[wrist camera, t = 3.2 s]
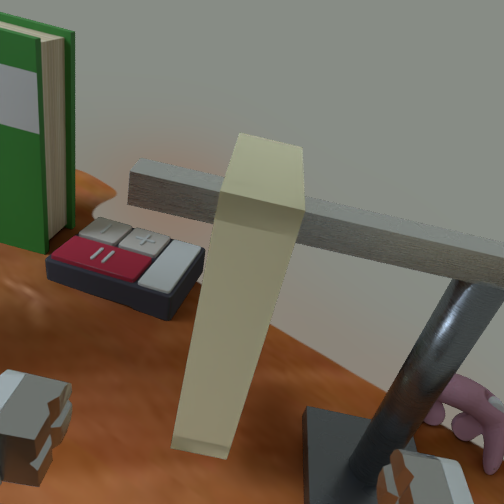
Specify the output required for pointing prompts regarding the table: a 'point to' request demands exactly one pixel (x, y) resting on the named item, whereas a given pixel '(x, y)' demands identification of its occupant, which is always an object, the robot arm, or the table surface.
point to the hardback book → (36, 132)
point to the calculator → (128, 266)
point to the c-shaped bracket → (239, 289)
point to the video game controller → (473, 417)
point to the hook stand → (421, 356)
